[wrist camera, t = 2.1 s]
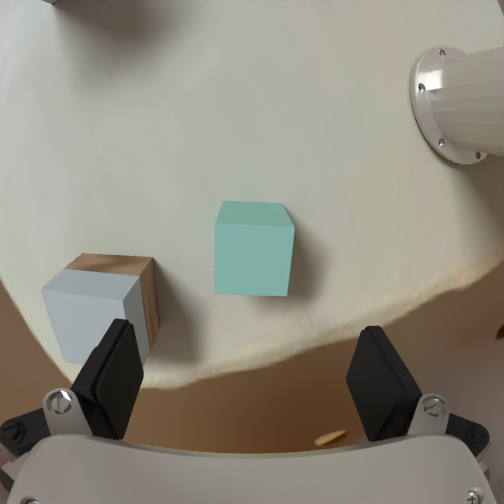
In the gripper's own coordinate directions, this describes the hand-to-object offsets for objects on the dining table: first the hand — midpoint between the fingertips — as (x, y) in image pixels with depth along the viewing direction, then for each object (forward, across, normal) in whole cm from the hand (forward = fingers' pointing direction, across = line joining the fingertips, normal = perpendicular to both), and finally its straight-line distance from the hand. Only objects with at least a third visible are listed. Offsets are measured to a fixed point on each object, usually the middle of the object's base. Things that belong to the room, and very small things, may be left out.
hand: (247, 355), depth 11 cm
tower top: (+12, +13, +7) cm, 19 cm away
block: (+16, -1, 0) cm, 16 cm away
